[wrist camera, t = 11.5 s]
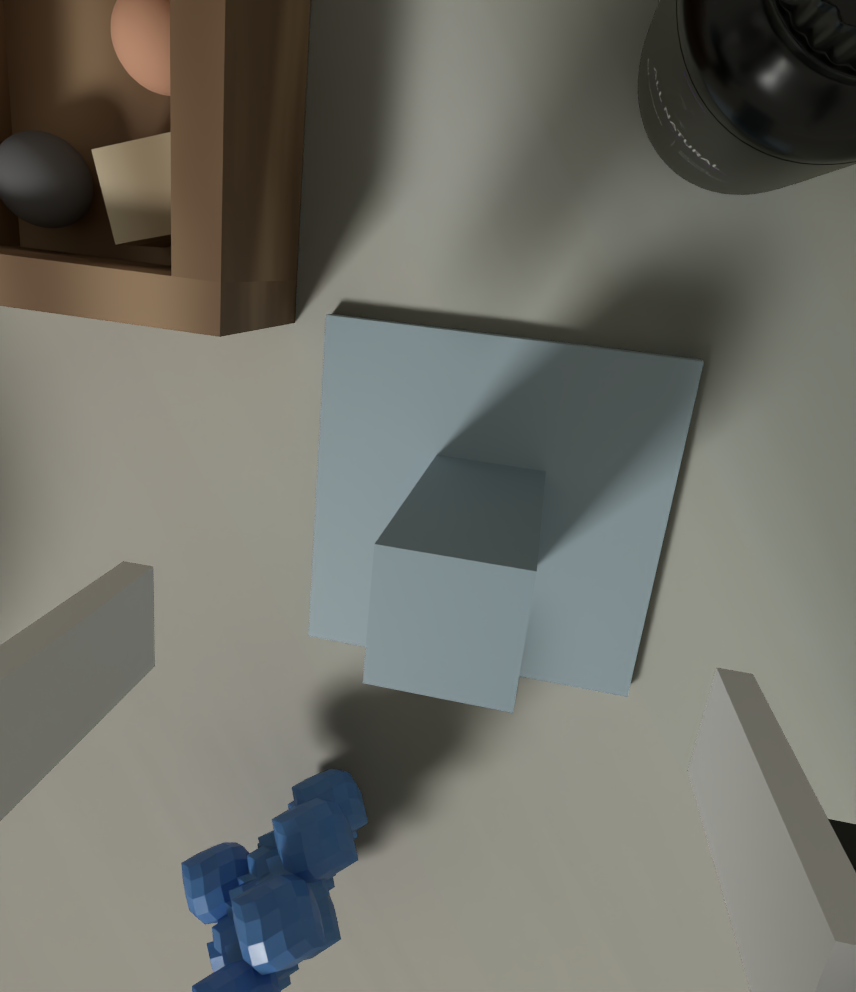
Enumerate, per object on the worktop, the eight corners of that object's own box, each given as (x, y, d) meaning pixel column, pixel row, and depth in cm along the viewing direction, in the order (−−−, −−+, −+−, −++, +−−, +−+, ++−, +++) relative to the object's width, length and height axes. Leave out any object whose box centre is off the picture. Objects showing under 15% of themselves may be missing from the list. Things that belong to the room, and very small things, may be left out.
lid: (316, 624, 30) (203, 784, 21) (334, 313, 26) (203, 336, 16) (625, 682, 28) (656, 887, 19) (698, 357, 24) (784, 412, 15)
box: (3, 283, 27) (-141, 286, 22) (-26, -87, 24) (-210, -199, 18) (294, 322, 26) (219, 336, 20) (314, -68, 22) (228, -186, 16)
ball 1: (38, 225, 26) (-27, 220, 23) (32, 135, 25) (-36, 117, 22) (113, 235, 25) (57, 230, 22) (110, 143, 24) (51, 126, 21)
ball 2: (146, 101, 24) (90, 78, 21) (145, -3, 23) (86, -42, 20) (230, 109, 23) (184, 86, 20) (232, 3, 22) (184, -35, 19)
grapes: (283, 662, 30) (121, 890, 19) (425, 728, 30) (344, 998, 19) (214, 847, 34) (45, 1125, 23) (338, 906, 34) (229, 1218, 23)
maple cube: (162, 247, 25) (115, 244, 22) (142, 162, 24) (91, 149, 22) (233, 234, 24) (194, 229, 22) (215, 147, 24) (172, 131, 21)
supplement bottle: (600, 162, 22) (639, 51, 11) (691, -89, 20) (854, -547, 9) (810, 229, 22) (1070, 183, 11) (928, -21, 20) (1419, -415, 8)
